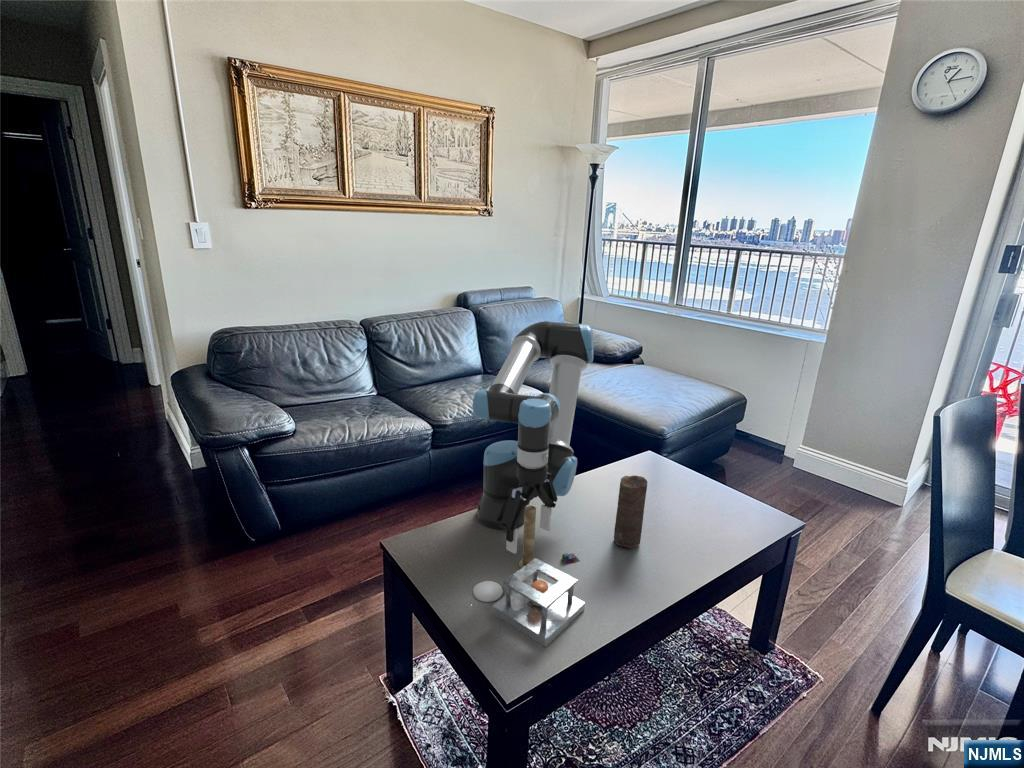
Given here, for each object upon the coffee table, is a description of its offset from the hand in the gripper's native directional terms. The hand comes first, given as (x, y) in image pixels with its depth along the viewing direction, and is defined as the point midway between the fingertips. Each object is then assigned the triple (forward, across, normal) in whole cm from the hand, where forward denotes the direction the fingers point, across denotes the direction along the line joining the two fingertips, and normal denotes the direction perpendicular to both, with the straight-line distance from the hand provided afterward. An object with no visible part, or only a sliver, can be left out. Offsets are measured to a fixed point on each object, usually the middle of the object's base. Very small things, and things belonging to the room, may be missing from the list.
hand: (528, 539), depth 132 cm
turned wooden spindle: (+8, 0, 0) cm, 8 cm away
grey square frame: (+8, -11, -12) cm, 18 cm away
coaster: (+8, -14, +1) cm, 16 cm away
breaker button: (+5, -11, -12) cm, 17 cm away
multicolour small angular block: (+9, +10, -6) cm, 15 cm away
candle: (+8, +27, -14) cm, 32 cm away
